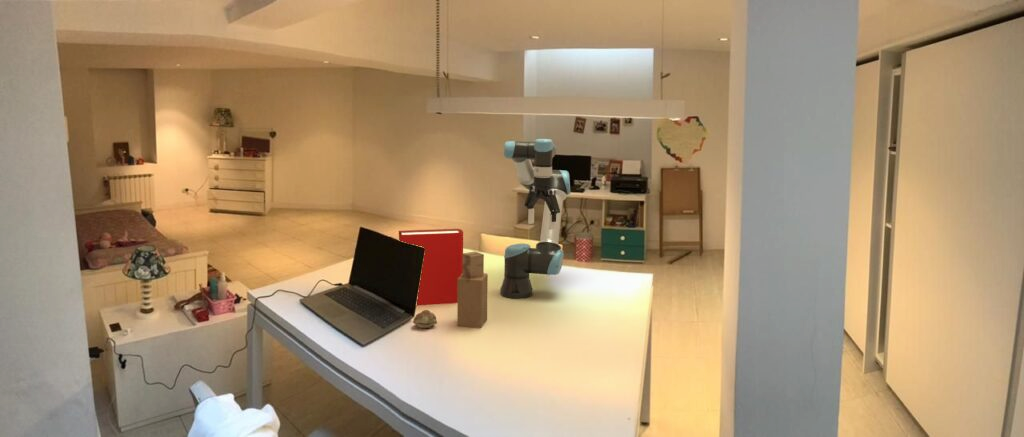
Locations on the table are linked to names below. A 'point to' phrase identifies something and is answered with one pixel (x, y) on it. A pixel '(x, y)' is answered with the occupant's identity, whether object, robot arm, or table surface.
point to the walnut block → (473, 265)
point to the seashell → (425, 319)
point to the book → (438, 263)
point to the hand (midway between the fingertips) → (541, 226)
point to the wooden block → (472, 301)
